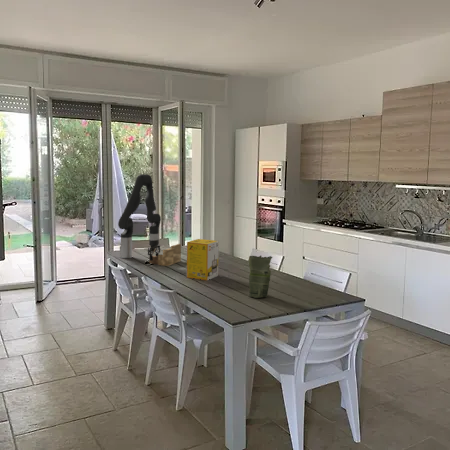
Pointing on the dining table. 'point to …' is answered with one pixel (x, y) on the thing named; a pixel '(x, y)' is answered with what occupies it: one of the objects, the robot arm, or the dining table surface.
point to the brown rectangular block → (154, 260)
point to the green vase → (259, 276)
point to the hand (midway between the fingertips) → (154, 259)
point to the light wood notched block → (170, 255)
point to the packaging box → (202, 259)
